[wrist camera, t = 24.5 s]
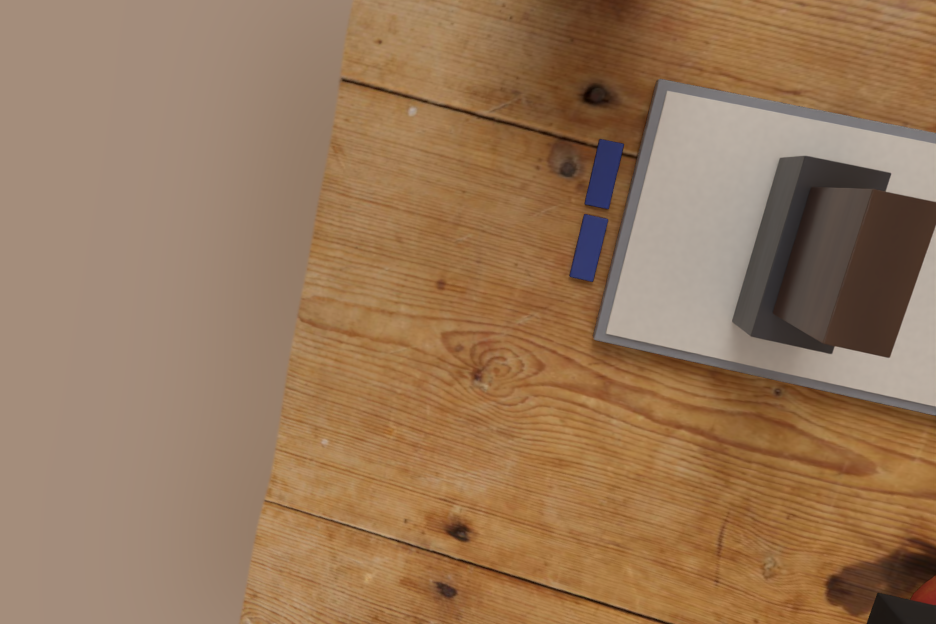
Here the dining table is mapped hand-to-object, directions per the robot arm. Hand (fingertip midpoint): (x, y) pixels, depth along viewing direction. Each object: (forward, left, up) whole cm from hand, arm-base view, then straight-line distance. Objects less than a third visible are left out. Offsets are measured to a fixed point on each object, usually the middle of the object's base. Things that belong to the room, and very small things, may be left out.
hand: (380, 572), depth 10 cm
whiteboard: (+13, +14, -35) cm, 40 cm away
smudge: (+3, +4, -35) cm, 35 cm away
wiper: (+11, +13, -34) cm, 38 cm away
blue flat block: (0, +8, -35) cm, 36 cm away
